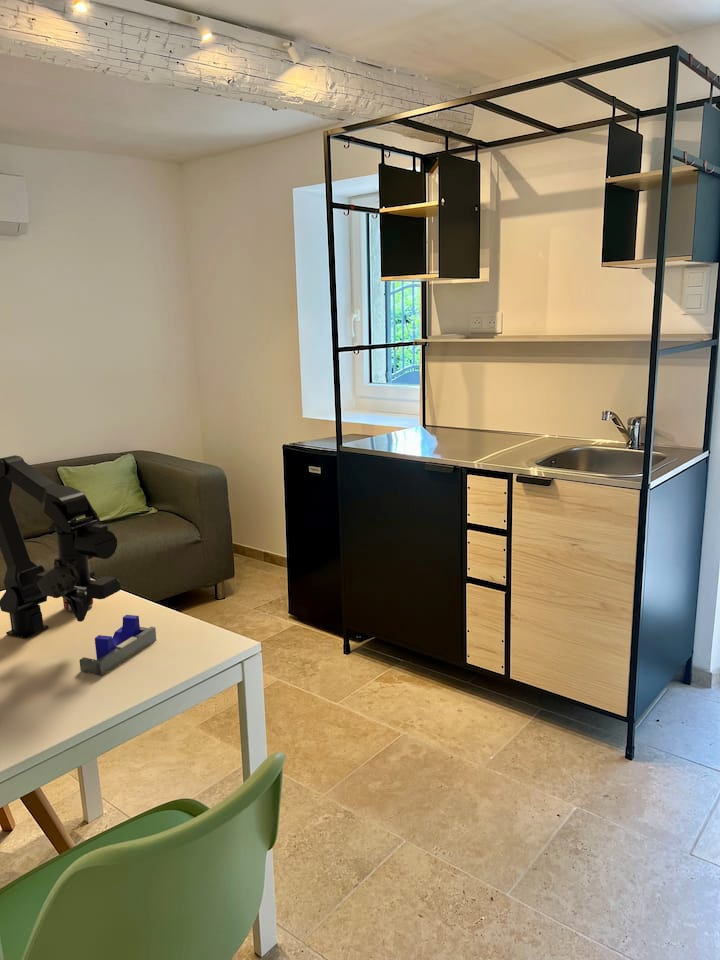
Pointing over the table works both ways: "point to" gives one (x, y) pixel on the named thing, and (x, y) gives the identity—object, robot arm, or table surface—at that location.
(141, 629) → the stop bracket
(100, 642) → the cable clip
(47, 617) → the table surface
